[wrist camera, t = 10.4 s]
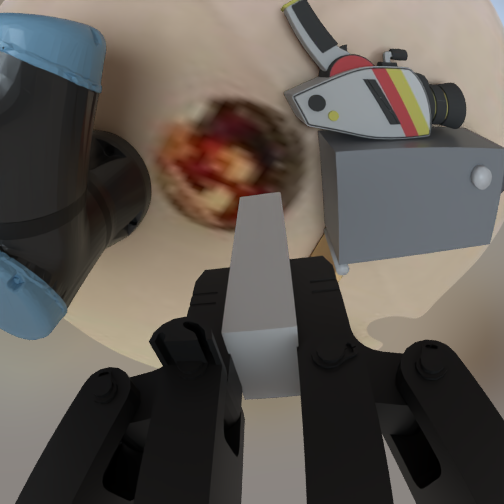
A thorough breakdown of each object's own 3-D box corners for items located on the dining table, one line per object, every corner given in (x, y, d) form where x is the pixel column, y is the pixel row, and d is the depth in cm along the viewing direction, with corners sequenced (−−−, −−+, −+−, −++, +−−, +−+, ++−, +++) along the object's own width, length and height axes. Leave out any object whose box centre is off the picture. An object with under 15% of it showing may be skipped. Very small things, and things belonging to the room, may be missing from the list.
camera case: (324, 224, 39) (340, 271, 31) (317, 130, 33) (338, 155, 25) (469, 209, 37) (507, 247, 29) (478, 128, 30) (526, 153, 22)
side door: (323, 222, 39) (336, 261, 32) (336, 228, 39) (351, 267, 32) (272, 307, 47) (273, 350, 40) (284, 311, 48) (287, 354, 41)
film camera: (429, 14, 24) (437, 127, 32) (270, 5, 25) (288, 132, 33) (462, 9, 18) (469, 140, 26) (276, -12, 19) (298, 146, 27)
